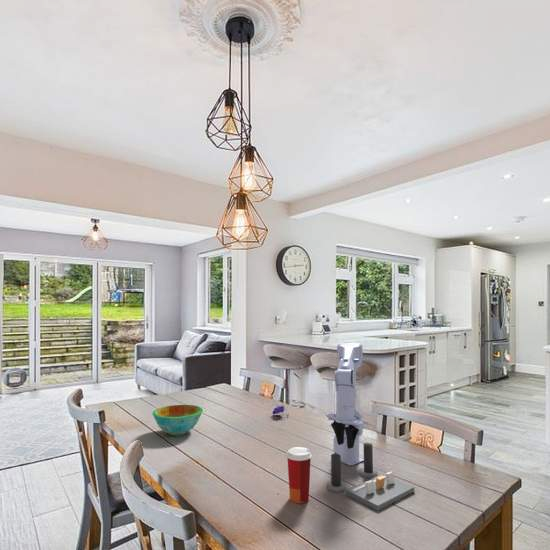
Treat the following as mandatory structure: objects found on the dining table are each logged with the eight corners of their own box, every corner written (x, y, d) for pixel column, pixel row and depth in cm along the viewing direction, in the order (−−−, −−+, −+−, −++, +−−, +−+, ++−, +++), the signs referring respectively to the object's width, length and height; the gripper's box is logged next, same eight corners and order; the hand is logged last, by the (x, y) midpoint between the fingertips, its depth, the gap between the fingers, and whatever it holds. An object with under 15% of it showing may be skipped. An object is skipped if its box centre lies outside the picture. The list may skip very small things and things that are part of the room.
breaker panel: (345, 494, 120) (345, 488, 120) (382, 478, 130) (382, 473, 131) (378, 511, 110) (377, 504, 110) (414, 492, 121) (414, 486, 121)
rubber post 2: (356, 473, 134) (355, 443, 135) (367, 469, 138) (366, 440, 139) (369, 479, 130) (369, 448, 130) (381, 474, 133) (380, 444, 134)
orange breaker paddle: (375, 487, 120) (376, 477, 120) (380, 484, 122) (381, 475, 122) (378, 489, 119) (379, 479, 119) (383, 486, 121) (384, 477, 121)
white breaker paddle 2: (386, 483, 123) (385, 473, 124) (391, 481, 125) (390, 471, 125) (389, 484, 122) (388, 474, 123) (394, 482, 124) (393, 471, 124)
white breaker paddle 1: (366, 493, 117) (364, 482, 117) (371, 490, 118) (370, 480, 119) (369, 494, 116) (367, 483, 117) (374, 491, 117) (373, 480, 118)
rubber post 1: (322, 487, 125) (322, 454, 125) (335, 481, 128) (335, 450, 129) (336, 494, 120) (336, 460, 121) (349, 488, 124) (349, 456, 124)
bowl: (141, 439, 169) (142, 415, 169) (167, 424, 190) (168, 403, 191) (189, 443, 163) (189, 419, 164) (210, 427, 185) (210, 405, 186)
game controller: (266, 407, 207) (283, 402, 209) (270, 423, 204) (287, 417, 207) (269, 406, 198) (287, 400, 200) (274, 422, 195) (292, 417, 198)
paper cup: (310, 492, 121) (309, 446, 122) (313, 505, 113) (313, 455, 114) (285, 492, 121) (285, 446, 122) (286, 505, 113) (286, 456, 114)
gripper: (321, 402, 136) (322, 442, 135) (353, 411, 125) (354, 455, 124) (335, 399, 141) (336, 438, 139) (367, 407, 129) (368, 450, 128)
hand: (345, 446), depth 132 cm, fingers open, 4 cm apart
